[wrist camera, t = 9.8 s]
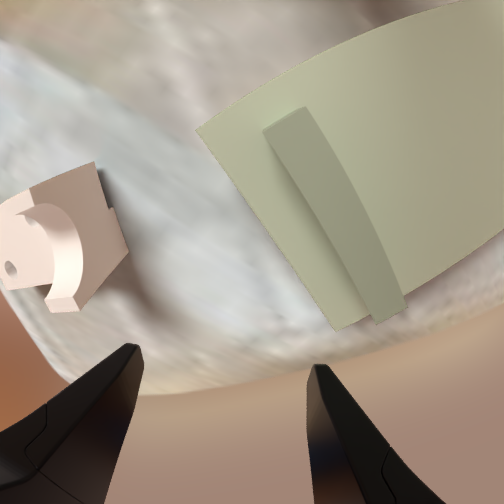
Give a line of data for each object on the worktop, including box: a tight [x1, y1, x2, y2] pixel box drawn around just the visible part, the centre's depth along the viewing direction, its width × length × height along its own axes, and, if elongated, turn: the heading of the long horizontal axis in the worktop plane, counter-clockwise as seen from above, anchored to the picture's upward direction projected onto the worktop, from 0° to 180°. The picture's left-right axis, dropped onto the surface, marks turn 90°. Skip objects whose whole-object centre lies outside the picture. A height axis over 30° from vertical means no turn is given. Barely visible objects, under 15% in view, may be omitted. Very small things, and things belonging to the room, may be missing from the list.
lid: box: [195, 0, 504, 332], centre depth 9 cm, size 12×25×3 cm, turn 124°
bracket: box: [0, 162, 129, 313], centre depth 17 cm, size 13×7×8 cm, turn 101°
